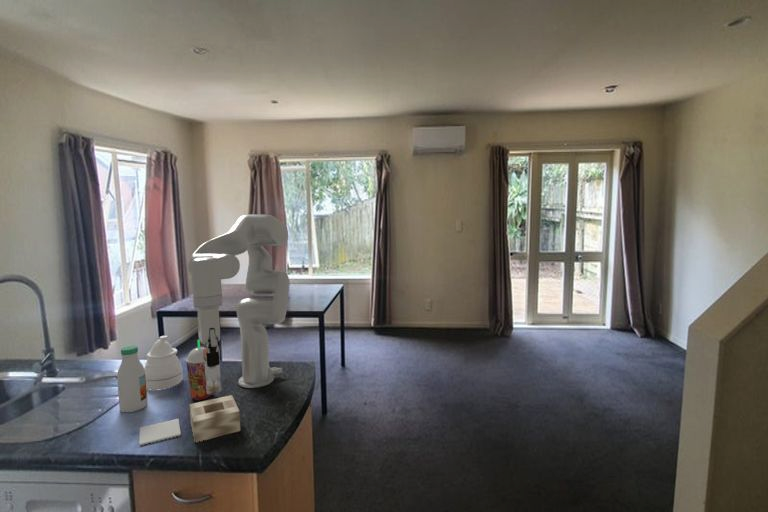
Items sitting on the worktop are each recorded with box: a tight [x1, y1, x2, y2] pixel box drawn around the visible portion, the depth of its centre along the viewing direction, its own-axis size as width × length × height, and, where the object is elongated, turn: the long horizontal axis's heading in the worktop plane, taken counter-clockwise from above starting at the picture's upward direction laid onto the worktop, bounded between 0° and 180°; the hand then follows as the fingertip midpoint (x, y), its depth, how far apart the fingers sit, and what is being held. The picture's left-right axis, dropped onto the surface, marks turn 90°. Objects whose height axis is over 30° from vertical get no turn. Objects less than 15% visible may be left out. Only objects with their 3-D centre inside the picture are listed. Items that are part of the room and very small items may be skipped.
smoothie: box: [185, 339, 212, 401], centre depth 138 cm, size 8×8×20 cm
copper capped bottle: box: [203, 345, 222, 395], centre depth 117 cm, size 4×4×13 cm
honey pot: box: [143, 335, 184, 391], centre depth 149 cm, size 13×13×18 cm
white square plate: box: [138, 418, 182, 446], centre depth 116 cm, size 10×10×1 cm
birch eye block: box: [188, 394, 241, 443], centre depth 118 cm, size 12×12×6 cm
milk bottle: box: [116, 345, 148, 413], centre depth 130 cm, size 8×8×20 cm
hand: (212, 361), depth 117 cm, fingers closed on copper capped bottle, 4 cm apart
